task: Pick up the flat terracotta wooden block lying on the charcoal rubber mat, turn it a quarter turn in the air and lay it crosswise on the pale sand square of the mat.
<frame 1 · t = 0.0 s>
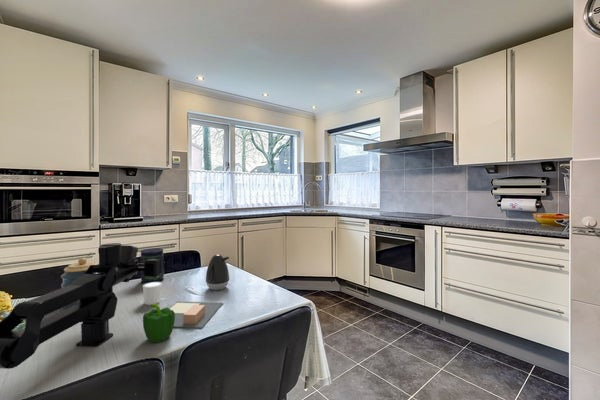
hand: (146, 262, 108), 17 cm above the table, tool horizontal, fingers open, 9 cm apart
white cup: (152, 302, 112), on the table
storage jar: (152, 281, 138), on the table
bell pepper: (159, 338, 85), on the table
canister: (83, 303, 111), on the table
pump dispenser: (217, 288, 128), on the table
flat block: (194, 318, 97), resting on rubber mat
rubber mat: (188, 314, 101), on the table
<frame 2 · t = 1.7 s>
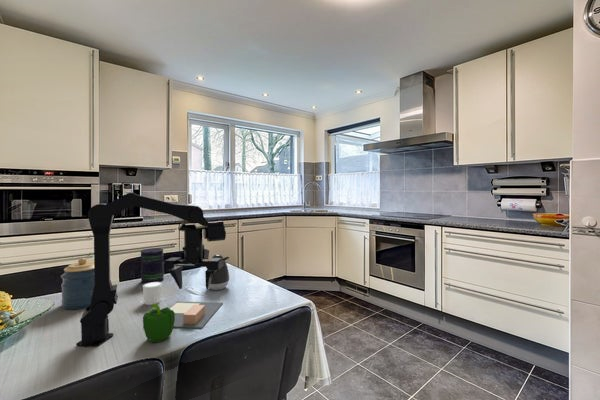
hand: (194, 288, 96), 10 cm above the table, tool pointing down, fingers open, 9 cm apart
nothing on the table moved.
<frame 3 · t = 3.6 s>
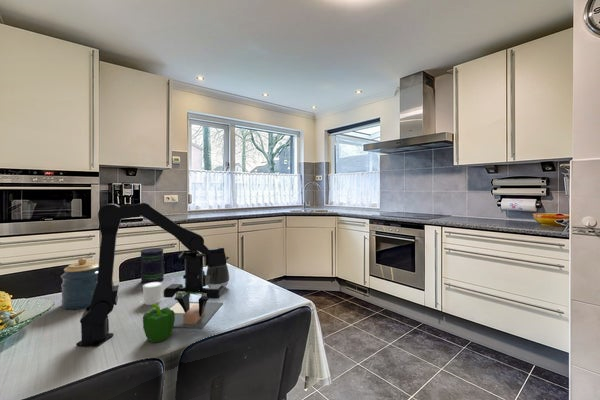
hand: (194, 316, 97), 1 cm above the table, tool pointing down, fingers closed on flat block, 4 cm apart
flat block: (194, 318, 97), resting on rubber mat, touching gripper
everything else where it was.
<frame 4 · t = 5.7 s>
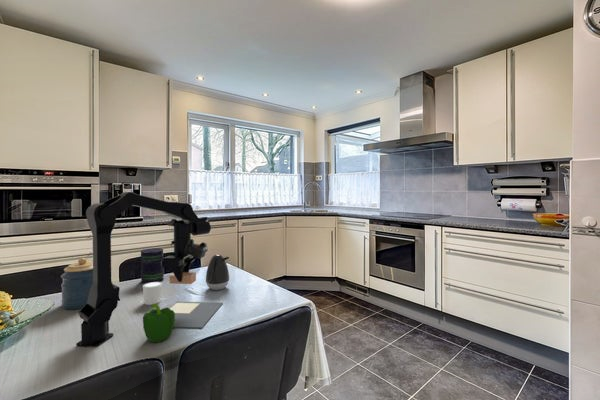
hand: (182, 279, 105), 11 cm above the table, tool pointing down, fingers closed on flat block, 4 cm apart
flat block: (183, 282, 105), point 10 cm above the table, touching gripper
everything else where it was.
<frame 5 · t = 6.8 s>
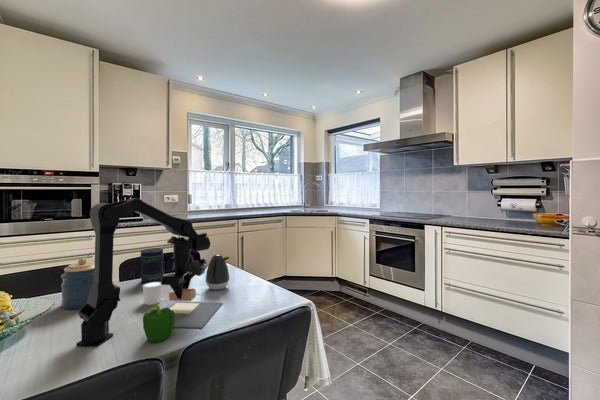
hand: (182, 296, 105), 5 cm above the table, tool pointing down, fingers closed on flat block, 4 cm apart
flat block: (182, 298, 105), point 4 cm above the table, touching gripper
everything else where it was.
when the fingers open (3 cm above the table, at t = 7.9 s): flat block drops 2 cm, resting on rubber mat.
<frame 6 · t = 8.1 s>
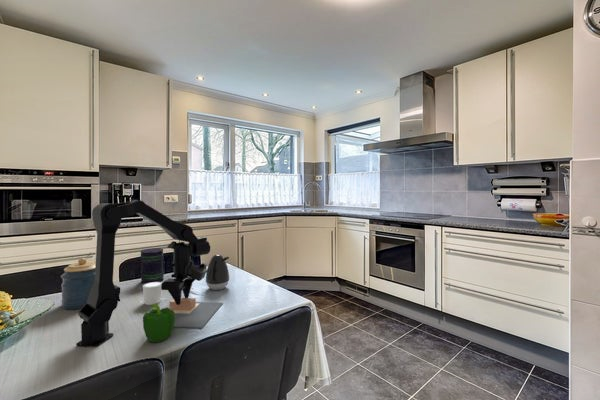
hand: (182, 301, 105), 3 cm above the table, tool pointing down, fingers open, 6 cm apart
flat block: (182, 307, 105), resting on rubber mat
everything else where it was.
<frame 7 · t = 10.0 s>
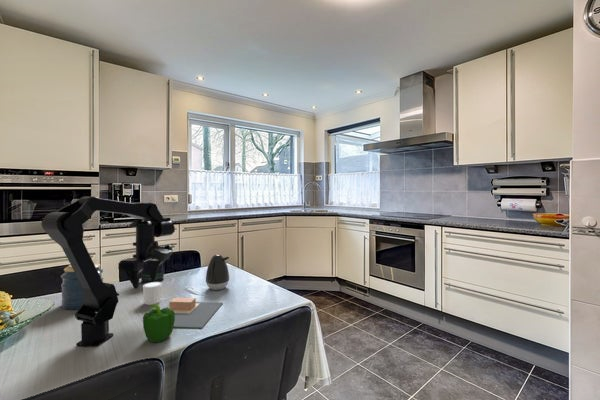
hand: (145, 284, 98), 11 cm above the table, tool pointing down, fingers open, 9 cm apart
nothing on the table moved.
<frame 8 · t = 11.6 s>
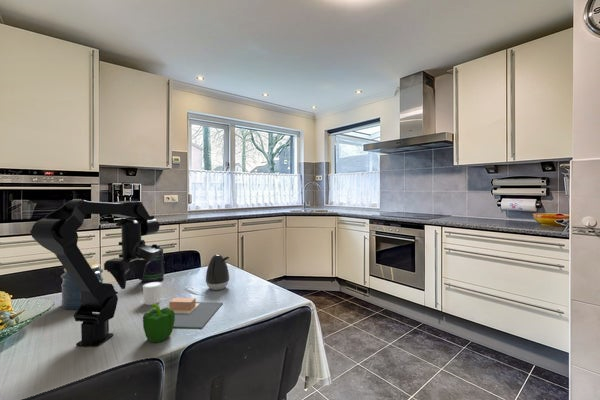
hand: (132, 284, 97), 12 cm above the table, tool pointing down, fingers open, 9 cm apart
nothing on the table moved.
at the end: flat block 0.1 cm from the target spot on the rubber mat, point 0.5 cm above the rubber mat's base; flat block tilted 0°; the gripper is holding nothing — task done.
